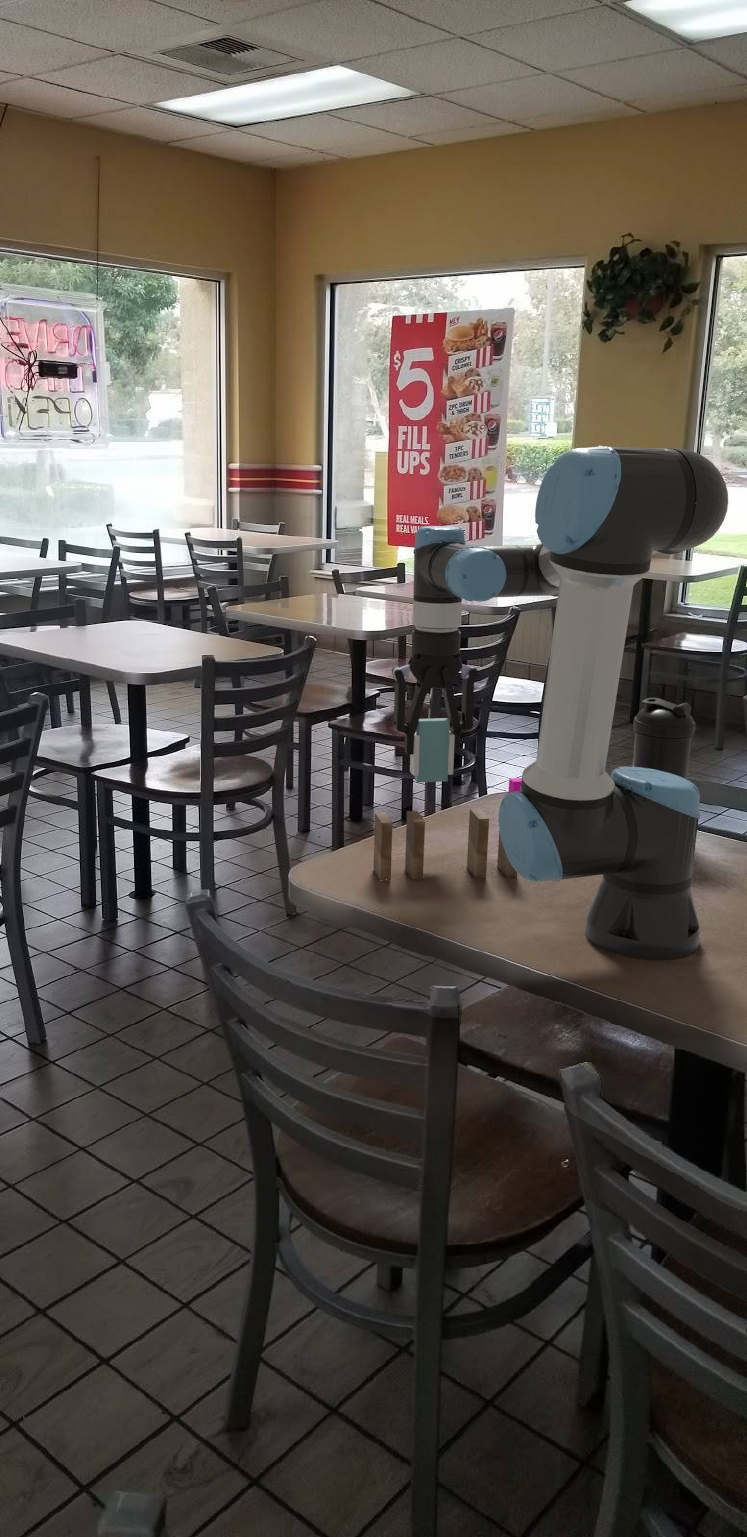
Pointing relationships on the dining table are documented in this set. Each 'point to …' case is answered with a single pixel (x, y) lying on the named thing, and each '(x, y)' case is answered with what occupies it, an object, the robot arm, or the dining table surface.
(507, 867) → the domino
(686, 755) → the water bottle
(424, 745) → the domino
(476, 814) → the domino
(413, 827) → the domino
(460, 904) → the dining table surface
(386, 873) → the domino
